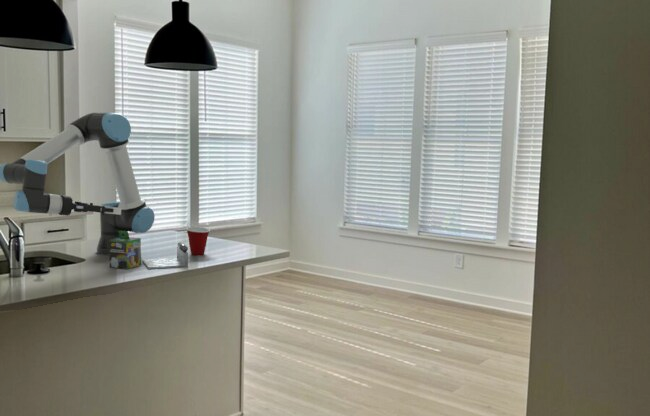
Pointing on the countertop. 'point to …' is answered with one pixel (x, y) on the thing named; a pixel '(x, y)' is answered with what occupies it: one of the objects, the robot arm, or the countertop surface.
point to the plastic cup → (197, 239)
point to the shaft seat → (170, 259)
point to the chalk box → (125, 251)
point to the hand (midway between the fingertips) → (115, 210)
